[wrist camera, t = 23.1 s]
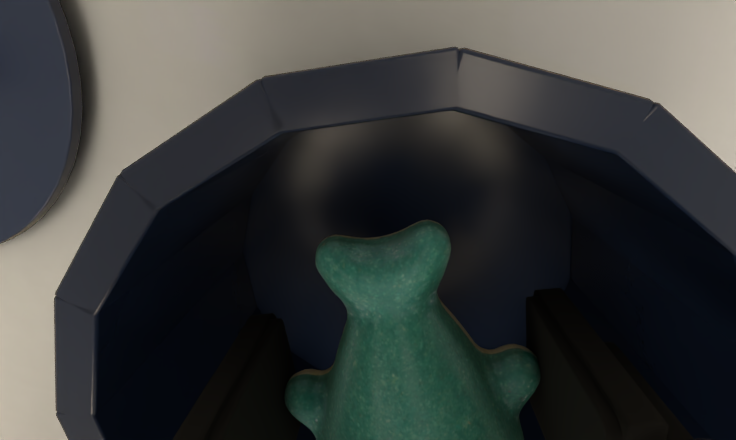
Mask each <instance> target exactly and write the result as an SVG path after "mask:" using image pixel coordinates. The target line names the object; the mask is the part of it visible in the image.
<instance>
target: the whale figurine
mask: <svg viewBox="0 0 736 440" xmlns="http://www.w3.org/2000/svg"><path fill="white" fill-rule="evenodd" d="M450 253H451V243H450V238H449V235H448V233H447V231H446V229H445V228H444V227H443V226H442V225H441V224H439V223H437V222H435V221H432V220H422V221H419V222H416V223H414V224H412V225H410V226H408V227H406V228H404V229H402V230H400V231H398V232H395V233H392V234H389V235H385V236H380V237H371V238H360V237H351V236H345V235H331V236H329V237H327V238H325V239H324V240H322V241H321V243H320V244H319V245H318V247H317V250H316V257H315V262H316V267H317V270H318V272H319V273H320V275H321V276H322V278H323V279H324V281H325V282H326V283H327V285H328V286H329V287H330V289H331V290H332V291H333V292H334V293H335V295H336V296H338V297H339V298H340V299H341V300H342V302H343V303H344V305H345V307H346V310H347V321H346V324H345V327H344V330H343V334H342V337H341V340H340V343H339V346H338V350H337V354H336V358H335V361H334V364H333V365H332V366H331V367H330V368H328V369H326V370H316V369H304V370H302V371H300V372H297V373H295V374H294V375H293V376H292V377H291V378H290V379H289V381H288V383H287V385H286V388H285V394H284V399H285V405H286V407H287V408H288V410H289V411H290V413H291V414H292V415H293V416H294V417H295V418H296V419H297V420H299V421H300V422H301V423H303V424H304V425H305V426H307V427H308V428H309V429H310V430H311V431H312V432H313V434H314V435H315V438H316V440H524V436H523V432H522V428H521V424H520V420H519V414H520V411H521V409H522V408H523V406H524V405H525V404H526V402H527V401H528V400H529V398H530V397H531V396H532V394H533V393H534V392H535V390H536V388H537V386H538V385H539V382H540V378H541V374H540V368H539V363H538V359H537V357H536V356H535V354H534V353H533V352H532V351H531V350H529V349H528V348H526V347H524V346H521V345H517V344H507V345H503V346H501V347H498V348H496V349H491V350H488V349H484V348H481V347H479V346H478V345H477V344H476V343H475V342H474V341H473V339H472V338H471V337H470V335H469V334H468V333H467V331H466V330H465V329H464V327H463V326H462V325H461V324H460V322H459V321H458V320H457V319H456V317H455V316H454V315H453V314H452V313H451V312H450V310H449V309H448V308H447V307H446V306H445V305H444V304H443V303H442V301H441V300H440V299H439V297H438V294H437V289H438V286H439V284H440V282H441V279H442V277H443V275H444V273H445V270H446V267H447V264H448V261H449V258H450Z"/></svg>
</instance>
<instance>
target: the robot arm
mask: <svg viewBox="0 0 736 440" xmlns="http://www.w3.org/2000/svg"><path fill="white" fill-rule="evenodd" d="M526 342H527V348H528V349H529V350H531V351H532V352H533V353H534V354H535V356H536V357H537V359H538V363H539V368H540V374H541V378H540V382H539V385H538V386H537V388H536V390H535V392H534V393H533V394H532V396H531V397H530V398H529V400H530V403H531V406H532V408H533V411H534V413H535V416H536V418H537V420H538V423H539V425H540V428H541V430H542V433H543V435H544V437H545V440H716V439H706V438H697V439H694V438H693V437H692V436H691V435H690V433H689V432H688V431H687V430H686V429H685V427H684V426H683V425H682V424H681V423H680V421H679V420H678V419H677V418H676V416H675V415H674V414H673V413H672V412H671V410H670V409H669V408H668V407H667V406H666V404H665V403H664V402H663V401H662V400H661V398H660V397H659V396H658V395H657V393H656V392H655V391H654V390H653V389H652V387H651V386H650V385H649V384H648V383H647V381H646V380H645V379H644V378H643V377H642V375H641V374H640V373H639V372H638V370H637V369H636V368H635V367H634V366H633V364H632V363H631V362H630V361H629V360H628V358H627V357H626V356H625V355H624V354H623V352H622V351H621V350H620V349H619V348H618V347H617V346H616V345H615V344H614V343H612V342H603V341H602V340H601V338H600V337H599V336H598V334H597V333H596V332H595V331H594V329H593V328H592V327H591V326H590V324H589V323H588V322H587V320H586V319H585V318H584V317H583V315H582V314H581V313H580V312H579V310H578V309H577V308H576V306H575V305H574V304H573V303H572V301H571V300H570V299H569V298H568V296H567V295H566V294H565V292H564V291H563V290H562V289H561V288H553V289H541V290H535V291H534V294H533V296H531V297H527V298H526ZM295 373H296V371H295V367H294V363H293V359H292V354H291V350H290V346H289V342H288V338H287V334H286V330H285V325H284V322H283V320H282V319H281V318H278V319H277V318H276V316H275V314H273V313H270V314H259V315H251V316H250V317H249V318H248V320H247V321H246V323H245V325H244V326H243V328H242V329H241V331H240V333H239V334H238V336H237V338H236V339H235V341H234V342H233V344H232V346H231V347H230V349H229V350H228V352H227V354H226V355H225V357H224V358H223V360H222V362H221V363H220V365H219V367H218V368H217V370H216V371H215V373H214V374H213V375H212V377H211V378H210V380H209V381H208V383H207V385H206V386H205V388H204V389H203V391H202V393H201V394H200V396H199V397H198V399H197V401H196V402H195V404H194V405H193V407H192V409H191V410H190V412H189V413H188V415H187V417H186V418H185V420H184V421H183V423H182V425H181V426H180V428H179V430H178V431H177V433H176V434H175V436H174V438H173V439H172V440H296V439H297V436H298V432H299V428H300V425H301V422H300V421H299V420H297V419H296V418H295V417H294V416H293V415H292V414H291V413H290V411H289V410H288V408H287V407H286V405H285V399H284V394H285V388H286V385H287V383H288V381H289V379H290V378H291V377H292V376H293V375H294V374H295Z"/></svg>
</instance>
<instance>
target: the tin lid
mask: <svg viewBox="0 0 736 440" xmlns="http://www.w3.org/2000/svg"><path fill="white" fill-rule="evenodd" d="M82 111H83V110H82V92H81V79H80V73H79V68H78V62H77V56H76V51H75V47H74V44H73V40H72V37H71V33H70V30H69V26H68V23H67V20H66V17H65V15H64V12H63V10H62V7H61V5H60V2H59V0H0V244H1V243H3V242H6V241H8V240H10V239H12V238H14V237H15V236H17V235H19V234H21V233H23V232H24V231H26V230H27V229H29V228H30V227H31V226H32V225H34V224H35V223H36V222H37V221H38V220H40V219H41V218H42V217H43V216H44V215H45V214H46V212H47V211H48V210H49V209H50V208H51V206H52V205H53V204H54V203H55V202H56V200H57V199H58V197H59V195H60V194H61V192H62V190H63V189H64V187H65V185H66V183H67V181H68V179H69V176H70V174H71V171H72V168H73V166H74V163H75V160H76V156H77V151H78V146H79V142H80V137H81V124H82Z"/></svg>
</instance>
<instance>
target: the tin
mask: <svg viewBox="0 0 736 440" xmlns="http://www.w3.org/2000/svg"><path fill="white" fill-rule="evenodd" d="M422 220H432V221H435V222H437V223H439V224H441V225H442V226H443V227H444V228H445V229H446V231H447V233H448V235H449V238H450V243H451V253H450V258H449V261H448V264H447V267H446V270H445V273H444V275H443V277H442V279H441V282H440V284H439V286H438V289H437V294H438V297H439V299H440V300H441V301H442V303H443V304H444V305H445V306H446V307H447V308H448V309H449V310H450V312H451V313H452V314H453V315H454V316H455V317H456V319H457V320H458V321H459V322H460V324H461V325H462V326H463V327H464V329H465V330H466V331H467V333H468V334H469V335H470V337H471V338H472V339H473V341H474V342H475V343H476V344H477V345H478V346H479V347H481V348H484V349H488V350H491V349H496V348H498V347H501V346H503V345H507V344H517V345H521V346H524V347H526V348H527V342H526V298H527V297H531V296H533V294H534V291H535V290H541V289H553V288H561V289H562V290H563V291H564V292H565V294H566V295H567V296H568V298H569V299H570V300H571V301H572V303H573V304H574V305H575V306H576V308H577V309H578V310H579V312H580V313H581V314H582V315H583V317H584V318H585V319H586V320H587V322H588V323H589V324H590V326H591V327H592V328H593V329H594V331H595V332H596V333H597V334H598V336H599V337H600V338H601V340H602V341H603V342H612V343H614V344H615V345H616V346H617V347H618V348H619V349H620V350H621V351H622V352H623V354H624V355H625V356H626V357H627V358H628V360H629V361H630V362H631V363H632V364H633V366H634V367H635V368H636V369H637V370H638V372H639V373H640V374H641V375H642V377H643V378H644V379H645V380H646V381H647V383H648V384H649V385H650V386H651V387H652V389H653V390H654V391H655V392H656V393H657V395H658V396H659V397H660V398H661V400H662V401H663V402H664V403H665V404H666V406H667V407H668V408H669V409H670V410H671V412H672V413H673V414H674V415H675V416H676V418H677V419H678V420H679V421H680V423H681V424H682V425H683V426H684V427H685V429H686V430H687V431H688V432H689V433H690V435H691V436H692V437H693V438H694V439H697V438H706V439H716V440H736V173H735V172H734V171H733V170H732V169H731V168H730V167H729V166H728V165H727V164H726V163H724V162H723V161H722V160H721V159H720V158H719V157H718V156H717V155H716V154H715V153H713V152H712V151H711V150H710V149H709V148H708V147H707V146H706V145H705V144H704V143H702V142H701V141H700V140H699V139H698V138H697V137H696V136H695V135H694V134H693V133H691V132H690V131H689V130H688V129H687V128H686V127H685V126H684V125H683V124H682V123H680V122H679V121H678V120H677V119H676V118H675V117H674V116H673V115H672V114H671V113H669V112H668V111H667V110H666V109H665V108H664V107H663V106H662V105H661V104H660V103H656V102H653V101H651V100H650V99H648V98H645V97H641V96H637V95H634V94H630V93H626V92H623V91H619V90H616V89H612V88H608V87H605V86H601V85H598V84H594V83H590V82H587V81H583V80H579V79H576V78H572V77H569V76H565V75H561V74H558V73H554V72H551V71H547V70H543V69H540V68H536V67H532V66H529V65H525V64H522V63H518V62H514V61H511V60H507V59H504V58H500V57H496V56H493V55H489V54H486V53H482V52H478V51H475V50H471V49H467V48H460V49H458V47H449V48H443V49H437V50H430V51H424V52H417V53H411V54H405V55H398V56H392V57H385V58H379V59H372V60H366V61H360V62H353V63H347V64H340V65H334V66H327V67H321V68H315V69H308V70H302V71H295V72H289V73H283V74H276V75H270V76H264V77H263V78H262V79H258V80H255V81H254V82H252V83H251V84H249V85H248V86H247V87H245V88H244V89H242V90H241V91H239V92H238V93H236V94H235V95H233V96H232V97H230V98H229V99H227V100H226V101H224V102H223V103H221V104H220V105H218V106H217V107H215V108H214V109H212V110H211V111H210V112H208V113H207V114H205V115H204V116H202V117H201V118H199V119H198V120H196V121H195V122H193V123H192V124H190V125H189V126H187V127H186V128H184V129H183V130H181V131H180V132H178V133H177V134H175V135H174V136H173V137H171V138H170V139H168V140H167V141H165V142H164V143H162V144H161V145H159V146H158V147H156V148H155V149H153V150H152V151H150V152H149V153H147V154H146V155H144V156H143V157H141V158H140V159H138V160H137V161H136V162H134V163H133V164H131V165H130V166H128V167H127V168H125V169H124V170H122V172H121V173H120V175H118V176H117V178H116V180H115V181H114V183H113V185H112V187H111V189H110V191H109V193H108V195H107V197H106V198H105V200H104V202H103V204H102V206H101V208H100V210H99V212H98V213H97V215H96V217H95V219H94V221H93V223H92V225H91V227H90V229H89V230H88V232H87V234H86V236H85V238H84V240H83V242H82V244H81V245H80V247H79V249H78V251H77V253H76V255H75V257H74V259H73V261H72V262H71V264H70V266H69V268H68V270H67V272H66V274H65V276H64V277H63V279H62V281H61V283H60V285H59V287H58V289H57V291H56V293H55V295H56V296H55V298H54V324H55V390H56V411H57V413H56V416H57V418H58V420H59V422H60V424H61V426H62V428H63V430H64V432H65V434H66V436H67V438H68V440H172V439H173V438H174V436H175V434H176V433H177V431H178V430H179V428H180V426H181V425H182V423H183V421H184V420H185V418H186V417H187V415H188V413H189V412H190V410H191V409H192V407H193V405H194V404H195V402H196V401H197V399H198V397H199V396H200V394H201V393H202V391H203V389H204V388H205V386H206V385H207V383H208V381H209V380H210V378H211V377H212V375H213V374H214V373H215V371H216V370H217V368H218V367H219V365H220V363H221V362H222V360H223V358H224V357H225V355H226V354H227V352H228V350H229V349H230V347H231V346H232V344H233V342H234V341H235V339H236V338H237V336H238V334H239V333H240V331H241V329H242V328H243V326H244V325H245V323H246V321H247V320H248V318H249V317H250V316H251V315H259V314H270V313H273V314H275V316H276V318H277V319H278V318H281V319H282V320H283V322H284V325H285V330H286V334H287V338H288V342H289V346H290V350H291V354H292V359H293V363H294V367H295V371H296V373H297V372H300V371H302V370H304V369H316V370H326V369H328V368H330V367H331V366H332V365H333V364H334V361H335V358H336V354H337V350H338V346H339V343H340V340H341V337H342V334H343V330H344V327H345V324H346V321H347V310H346V307H345V305H344V303H343V302H342V300H341V299H340V298H339V297H338V296H336V295H335V293H334V292H333V291H332V290H331V289H330V287H329V286H328V285H327V283H326V282H325V281H324V279H323V278H322V276H321V275H320V273H319V272H318V270H317V267H316V262H315V257H316V250H317V247H318V245H319V244H320V243H321V241H322V240H324V239H325V238H327V237H329V236H331V235H345V236H351V237H360V238H371V237H380V236H385V235H389V234H392V233H395V232H398V231H400V230H402V229H404V228H406V227H408V226H410V225H412V224H414V223H416V222H419V221H422ZM519 420H520V424H521V428H522V432H523V436H524V440H545V437H544V435H543V433H542V430H541V428H540V425H539V423H538V420H537V418H536V416H535V413H534V411H533V408H532V406H531V403H530V400H528V401H527V402H526V404H525V405H524V406H523V408H522V409H521V411H520V414H519ZM296 440H316V438H315V435H314V434H313V432H312V431H311V430H310V429H309V428H308V427H307V426H305V425H304V424H303V423H301V425H300V428H299V432H298V436H297V439H296Z"/></svg>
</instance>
